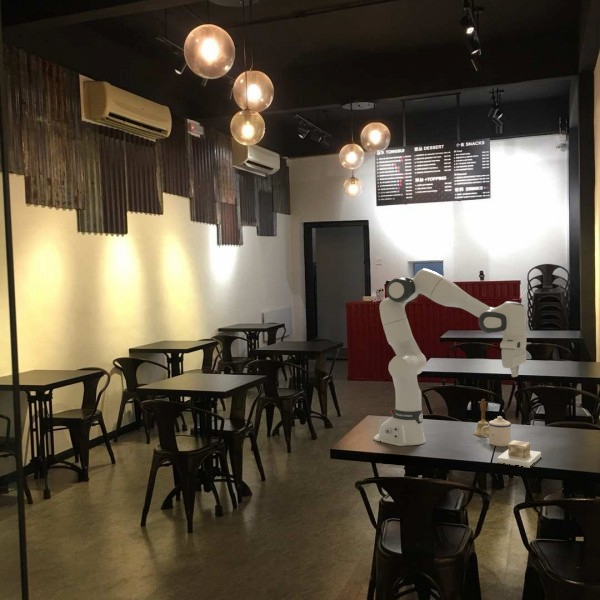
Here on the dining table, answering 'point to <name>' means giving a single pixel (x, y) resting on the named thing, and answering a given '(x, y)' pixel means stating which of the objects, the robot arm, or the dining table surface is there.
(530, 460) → the post base
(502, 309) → the robot arm
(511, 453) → the beige wooden block
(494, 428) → the teacup with lid
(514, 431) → the dining table surface
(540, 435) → the dining table surface
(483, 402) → the hand bell
